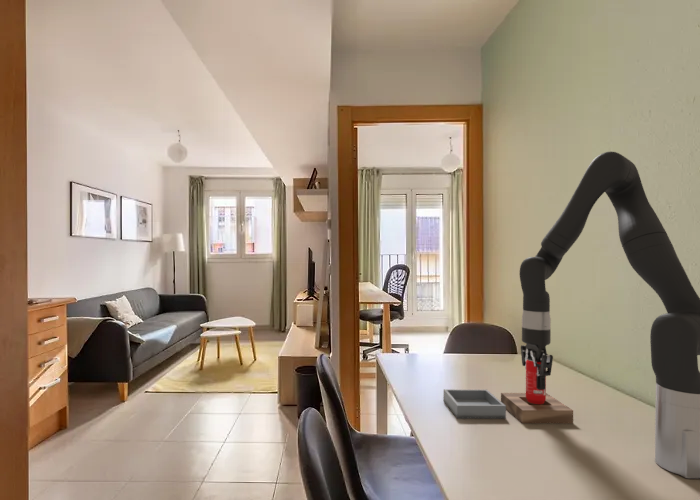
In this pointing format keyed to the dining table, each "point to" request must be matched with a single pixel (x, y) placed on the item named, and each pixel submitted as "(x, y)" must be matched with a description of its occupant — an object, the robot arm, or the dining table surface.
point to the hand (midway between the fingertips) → (535, 385)
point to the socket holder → (536, 409)
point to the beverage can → (533, 384)
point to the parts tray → (474, 404)
